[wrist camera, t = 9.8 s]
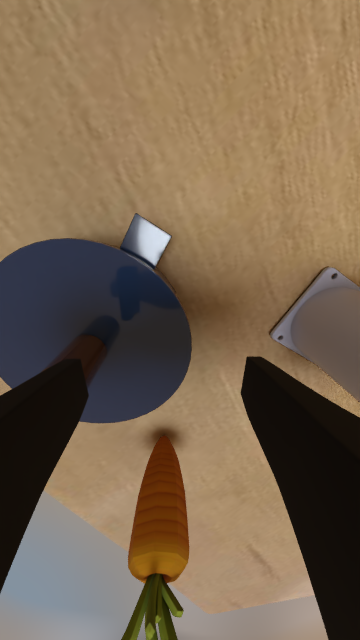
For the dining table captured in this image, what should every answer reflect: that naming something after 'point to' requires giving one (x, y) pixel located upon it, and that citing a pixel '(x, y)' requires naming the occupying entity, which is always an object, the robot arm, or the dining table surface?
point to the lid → (93, 324)
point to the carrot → (158, 543)
